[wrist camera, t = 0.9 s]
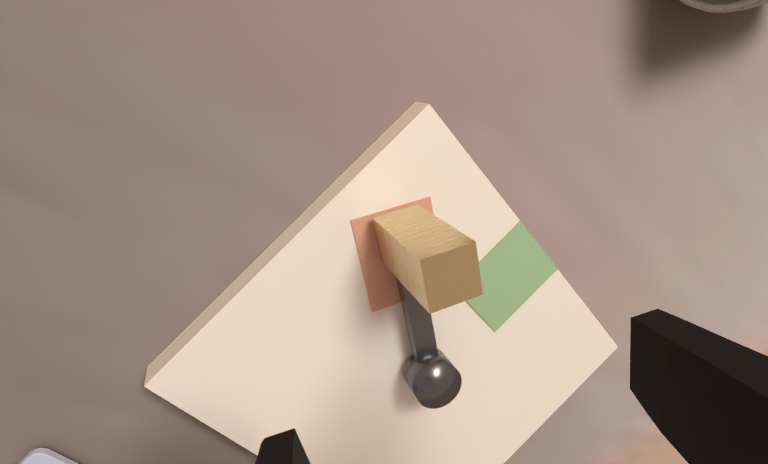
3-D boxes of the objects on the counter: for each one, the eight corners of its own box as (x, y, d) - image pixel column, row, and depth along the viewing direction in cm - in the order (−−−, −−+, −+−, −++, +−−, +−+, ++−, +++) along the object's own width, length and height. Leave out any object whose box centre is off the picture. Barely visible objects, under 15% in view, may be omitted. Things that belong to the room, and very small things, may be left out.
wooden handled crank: (449, 378, 24) (506, 450, 20) (407, 394, 24) (456, 473, 19) (418, 203, 21) (478, 240, 16) (369, 217, 20) (416, 260, 16)
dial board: (406, 529, 29) (417, 554, 27) (147, 366, 21) (143, 387, 20) (598, 334, 29) (619, 347, 28) (415, 101, 21) (430, 104, 20)
